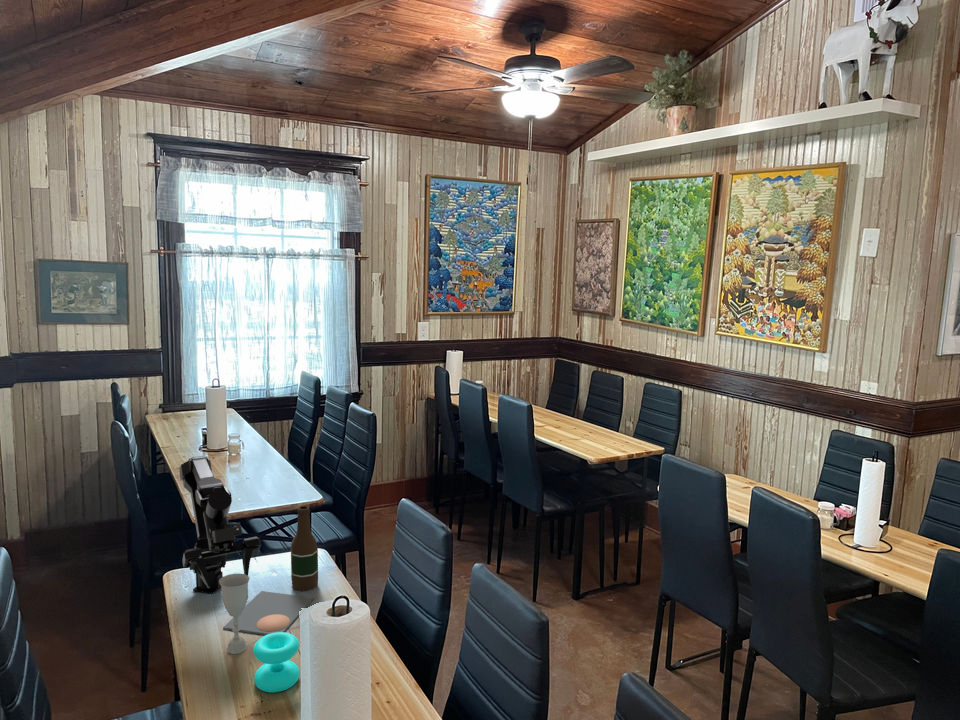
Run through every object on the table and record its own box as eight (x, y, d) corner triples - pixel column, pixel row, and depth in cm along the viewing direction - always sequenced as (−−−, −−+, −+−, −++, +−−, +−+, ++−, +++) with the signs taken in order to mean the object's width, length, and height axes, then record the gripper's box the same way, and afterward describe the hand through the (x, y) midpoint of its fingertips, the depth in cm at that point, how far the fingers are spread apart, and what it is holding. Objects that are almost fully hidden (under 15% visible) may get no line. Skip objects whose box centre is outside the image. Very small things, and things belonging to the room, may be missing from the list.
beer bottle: (323, 585, 208) (322, 507, 204) (300, 594, 202) (299, 514, 198) (308, 576, 213) (307, 500, 209) (285, 585, 207) (284, 507, 203)
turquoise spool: (302, 648, 158) (255, 657, 154) (303, 689, 160) (257, 699, 156) (294, 626, 167) (250, 634, 163) (295, 664, 169) (252, 674, 165)
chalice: (257, 643, 177) (255, 576, 174) (240, 658, 171) (237, 588, 168) (233, 638, 179) (231, 571, 176) (215, 652, 173) (212, 583, 170)
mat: (223, 629, 183) (223, 626, 183) (261, 592, 203) (261, 590, 203) (280, 637, 180) (280, 635, 180) (313, 599, 200) (313, 597, 200)
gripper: (182, 520, 177) (192, 579, 169) (258, 507, 186) (270, 563, 179) (178, 538, 184) (187, 596, 177) (251, 525, 194) (263, 579, 187)
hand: (228, 583), depth 180 cm, fingers open, 9 cm apart
